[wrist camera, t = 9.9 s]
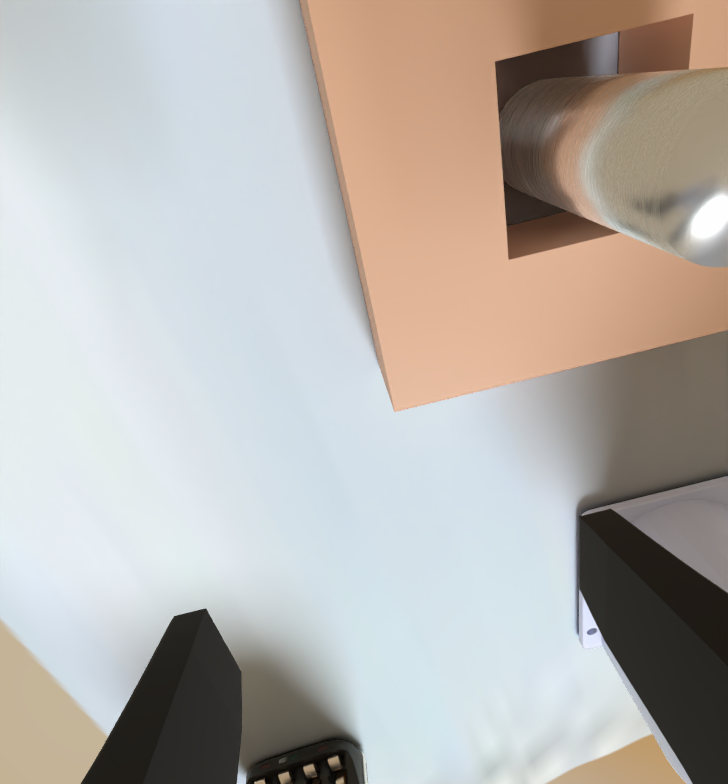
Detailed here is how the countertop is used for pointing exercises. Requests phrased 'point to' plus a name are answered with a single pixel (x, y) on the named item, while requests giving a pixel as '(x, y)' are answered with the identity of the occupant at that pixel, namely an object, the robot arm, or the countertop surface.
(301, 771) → the battery charger
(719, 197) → the steel peg
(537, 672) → the countertop surface
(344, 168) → the hole block
